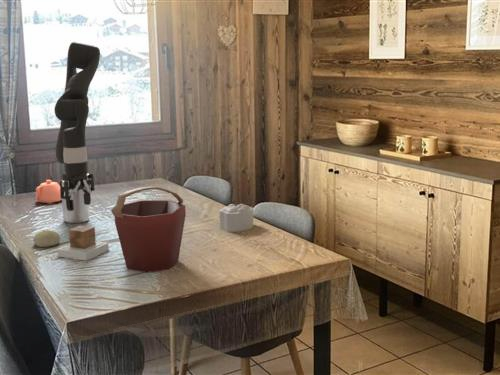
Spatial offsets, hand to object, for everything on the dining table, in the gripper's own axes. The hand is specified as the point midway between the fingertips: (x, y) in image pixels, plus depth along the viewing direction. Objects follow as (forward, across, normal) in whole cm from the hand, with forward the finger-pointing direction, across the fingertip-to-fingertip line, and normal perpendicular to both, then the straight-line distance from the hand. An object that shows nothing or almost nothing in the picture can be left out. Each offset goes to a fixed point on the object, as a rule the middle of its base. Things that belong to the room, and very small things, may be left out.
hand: (79, 207), depth 205 cm
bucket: (+16, 0, +28) cm, 32 cm away
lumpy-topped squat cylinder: (+16, -48, +36) cm, 62 cm away
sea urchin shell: (+17, -3, -19) cm, 25 cm away
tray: (+16, 0, 0) cm, 16 cm away
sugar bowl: (+17, -54, -64) cm, 85 cm away
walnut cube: (+13, 0, 0) cm, 13 cm away
